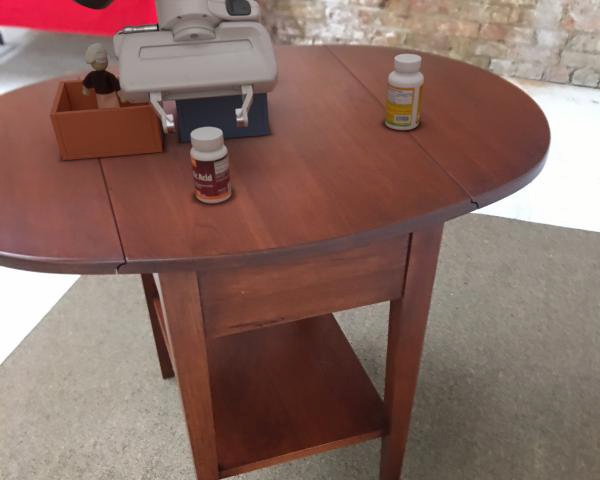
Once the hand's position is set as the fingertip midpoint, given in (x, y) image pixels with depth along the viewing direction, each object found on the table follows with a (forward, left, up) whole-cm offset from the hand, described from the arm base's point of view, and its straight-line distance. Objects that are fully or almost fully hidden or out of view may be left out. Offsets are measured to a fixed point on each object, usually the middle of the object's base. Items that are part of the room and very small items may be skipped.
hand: (206, 128), depth 82 cm
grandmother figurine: (-14, +19, -7) cm, 24 cm away
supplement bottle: (+31, +15, -8) cm, 35 cm away
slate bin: (+3, +22, -8) cm, 23 cm away
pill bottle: (0, -3, -8) cm, 9 cm away
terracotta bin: (-14, +19, -8) cm, 25 cm away
